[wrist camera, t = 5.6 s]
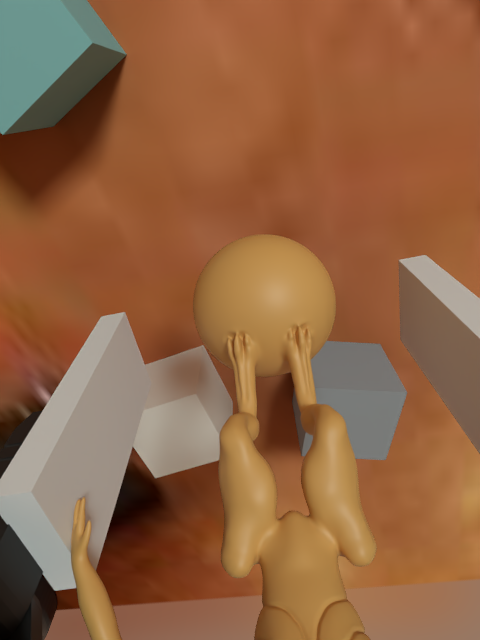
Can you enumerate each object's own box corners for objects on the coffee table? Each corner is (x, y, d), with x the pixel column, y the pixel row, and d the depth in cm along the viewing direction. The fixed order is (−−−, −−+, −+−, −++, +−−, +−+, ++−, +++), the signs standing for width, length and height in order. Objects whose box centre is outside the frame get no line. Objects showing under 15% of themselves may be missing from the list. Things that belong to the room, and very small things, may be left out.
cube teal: (54, 126, 20) (2, 134, 16) (-32, 27, 18) (-117, 6, 14) (127, 54, 19) (92, 42, 15) (42, -61, 17) (-27, -115, 13)
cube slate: (292, 400, 29) (301, 455, 24) (301, 339, 26) (313, 387, 22) (363, 404, 29) (385, 459, 24) (379, 343, 26) (407, 392, 22)
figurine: (390, 200, 12) (1372, 811, 2) (384, 366, 15) (739, 988, 5) (118, 237, 13) (-459, 921, 2) (161, 392, 15) (6, 1021, 5)
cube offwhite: (168, 421, 30) (155, 478, 25) (134, 367, 27) (114, 420, 23) (232, 401, 29) (231, 456, 24) (203, 344, 26) (196, 393, 22)
